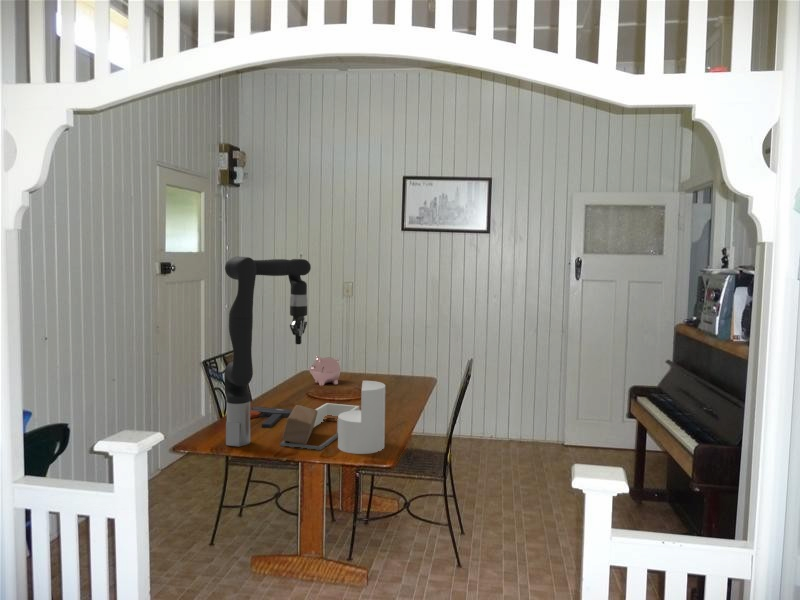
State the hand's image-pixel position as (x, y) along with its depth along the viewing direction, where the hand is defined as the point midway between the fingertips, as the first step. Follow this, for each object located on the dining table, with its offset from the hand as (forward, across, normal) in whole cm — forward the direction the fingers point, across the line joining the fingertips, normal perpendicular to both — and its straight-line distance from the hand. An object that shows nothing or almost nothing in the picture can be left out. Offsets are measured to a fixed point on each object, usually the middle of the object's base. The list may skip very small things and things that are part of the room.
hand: (298, 344), depth 285 cm
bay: (+37, -16, -14) cm, 43 cm away
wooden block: (+30, -7, -6) cm, 32 cm away
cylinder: (+37, -17, -36) cm, 55 cm away
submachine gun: (+38, +6, +16) cm, 41 cm away
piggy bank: (+37, +88, +25) cm, 99 cm away
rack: (+37, +6, -14) cm, 40 cm away
